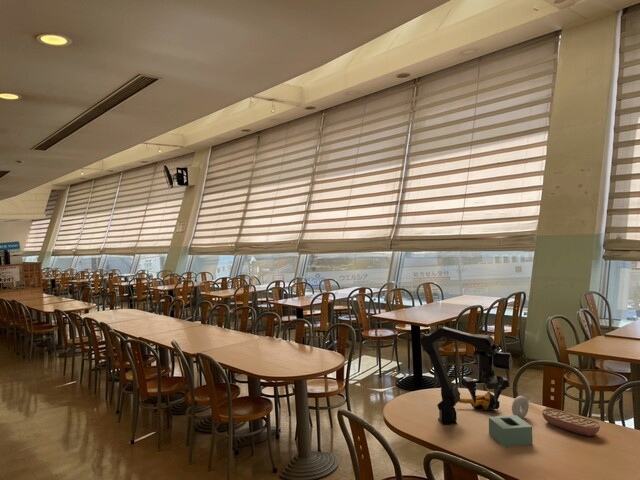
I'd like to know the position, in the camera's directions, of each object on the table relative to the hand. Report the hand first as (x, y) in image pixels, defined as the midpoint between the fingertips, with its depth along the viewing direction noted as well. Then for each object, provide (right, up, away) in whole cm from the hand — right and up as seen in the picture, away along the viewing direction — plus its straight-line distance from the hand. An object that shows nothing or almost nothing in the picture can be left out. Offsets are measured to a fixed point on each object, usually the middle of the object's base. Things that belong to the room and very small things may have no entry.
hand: (485, 402), depth 197 cm
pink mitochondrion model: (+35, -11, -1) cm, 37 cm away
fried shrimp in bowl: (+5, -12, +24) cm, 27 cm away
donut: (+20, -11, +11) cm, 25 cm away
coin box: (+7, -11, -9) cm, 16 cm away
